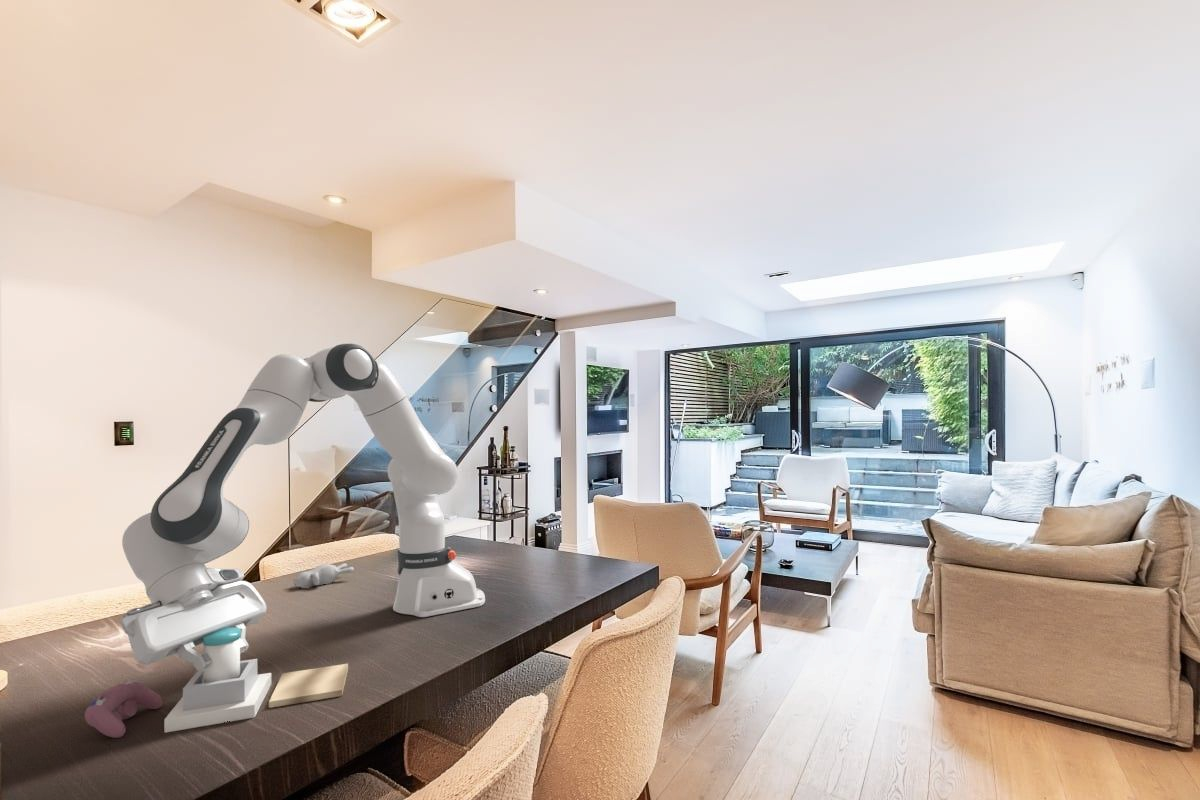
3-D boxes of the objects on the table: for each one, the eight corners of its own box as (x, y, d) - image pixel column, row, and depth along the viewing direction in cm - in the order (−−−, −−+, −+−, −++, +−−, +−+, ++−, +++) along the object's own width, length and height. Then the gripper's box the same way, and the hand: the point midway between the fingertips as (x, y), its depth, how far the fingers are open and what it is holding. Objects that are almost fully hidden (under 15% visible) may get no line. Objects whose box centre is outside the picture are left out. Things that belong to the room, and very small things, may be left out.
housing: (271, 683, 101) (271, 653, 101) (254, 717, 90) (254, 682, 90) (192, 696, 97) (192, 663, 97) (164, 732, 86) (164, 696, 86)
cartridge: (244, 684, 97) (244, 625, 97) (235, 698, 92) (235, 636, 92) (209, 689, 95) (209, 630, 95) (198, 704, 90) (198, 641, 90)
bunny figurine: (289, 571, 161) (343, 556, 172) (292, 589, 162) (345, 572, 172) (299, 578, 155) (354, 561, 165) (301, 596, 155) (357, 578, 165)
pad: (348, 668, 106) (348, 663, 106) (342, 695, 96) (342, 689, 96) (282, 678, 103) (282, 673, 103) (268, 707, 92) (268, 701, 92)
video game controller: (141, 717, 93) (121, 680, 93) (167, 702, 94) (147, 666, 94) (94, 752, 84) (71, 711, 83) (123, 736, 84) (101, 695, 84)
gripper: (124, 601, 87) (166, 674, 83) (249, 566, 106) (287, 625, 102) (106, 627, 88) (146, 700, 84) (232, 588, 107) (269, 646, 103)
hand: (224, 658), depth 93 cm, fingers closed on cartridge, 5 cm apart
